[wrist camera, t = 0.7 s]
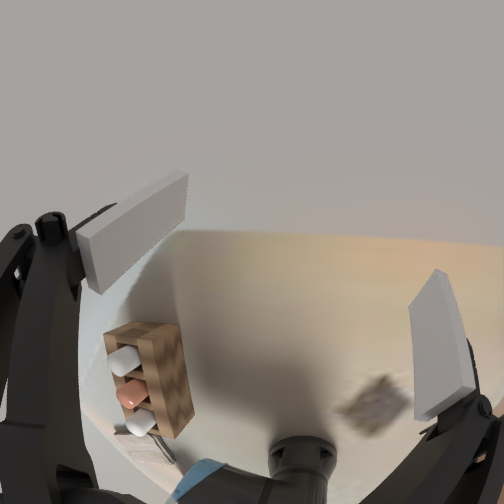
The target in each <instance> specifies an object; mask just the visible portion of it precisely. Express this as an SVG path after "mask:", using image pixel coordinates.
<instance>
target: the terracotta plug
mask: <svg viewBox="0 0 504 504" xmlns="http://www.w3.org/2000/svg"><path fill="white" fill-rule="evenodd" d="M116 396H117V399H118V400H119V402H120V403H121V404H122V405H123V406H124V407H126V408H128V409H133V408H134V407H135V406H137V405H138V404H139V403H140V402H141V401H143V400H144V399H145V398H146V397H147V396H149V393H148V389H147V385H146V381H145V380H141V379H137V378H134V379H132V380H131V381H129V382H128V383H126V384H125V385H123V386H122V387H121V388H119V389H118V390H117V391H116Z"/></svg>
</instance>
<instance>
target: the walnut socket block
mask: <svg viewBox="0 0 504 504" xmlns="http://www.w3.org/2000/svg"><path fill="white" fill-rule="evenodd" d="M103 336H104V341H105V346H106V351H107V355H109V354H111V353H113V352H115V351H117V350H119V349H121V348H123V347H125V346H127V345H128V344H130V345H137V346H138V349H139V354H140V359H141V363H142V364H141V365H139V366H138V367H136V368H135V369H133V370H132V371H130V372H129V373H127V374H125V375H124V376H122V377H120V376H117V375H115V374H114V373H113V372H112V375H113V379H114V383H115V386H116V390H118V389H119V388H121V387H122V386H123V385H125V384H126V383H128V382H129V381H131V380H132V379H134V378H137V379H141V380H145V381H146V385H147V389H148V393H149V396H147V397H146V398H145V399H144V400H143V401H141V402H140V403H139V404H138V405H137V406H135V407H134V408H133V409H128V408H126V407H124V406H123V405H122V404H121V406H122V409H123V412H124V415H125V418H126V420H127V419H128V418H129V417H131V416H132V415H133V414H134V413H135V412H137V411H138V410H139V409H140V408H145V409H148V410H152V411H154V415H155V418H156V422H157V423H156V424H155V425H154V426H153V427H152V428H151V429H150V430H149V431H148V432H149V433H153V434H156V435H160V436H164V437H167V438H171V439H176V437H177V436H178V435H179V434H180V432H181V431H182V430H183V429H184V428H185V426H186V425H187V424H188V423H189V421H190V420H191V419H192V418H193V416H194V415H195V413H194V409H193V404H192V399H191V394H190V389H189V383H188V378H187V372H186V367H185V361H184V355H183V348H182V342H181V335H180V328H179V325H174V324H159V323H145V322H130V323H128V324H126V325H123V326H121V327H118V328H116V329H114V330H111V331H109V332H106V333H104V334H103Z"/></svg>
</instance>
